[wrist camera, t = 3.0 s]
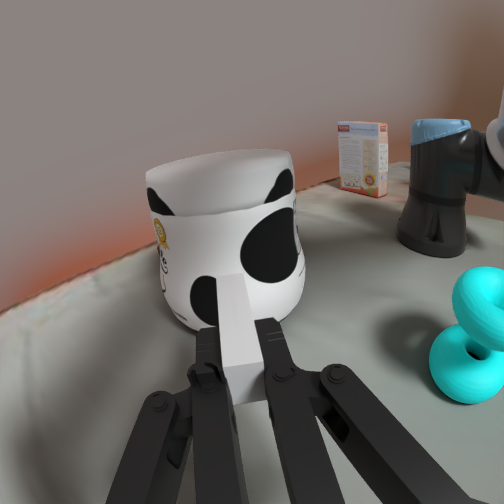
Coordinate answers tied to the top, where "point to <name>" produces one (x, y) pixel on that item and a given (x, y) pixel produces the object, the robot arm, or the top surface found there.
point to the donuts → (472, 339)
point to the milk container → (227, 232)
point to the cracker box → (363, 157)
